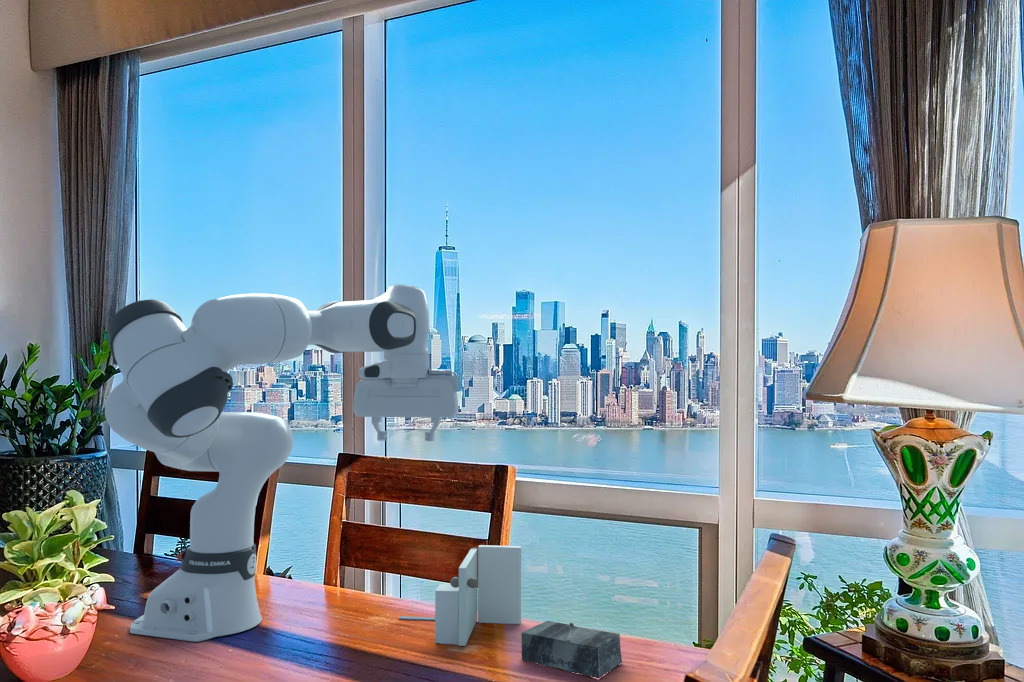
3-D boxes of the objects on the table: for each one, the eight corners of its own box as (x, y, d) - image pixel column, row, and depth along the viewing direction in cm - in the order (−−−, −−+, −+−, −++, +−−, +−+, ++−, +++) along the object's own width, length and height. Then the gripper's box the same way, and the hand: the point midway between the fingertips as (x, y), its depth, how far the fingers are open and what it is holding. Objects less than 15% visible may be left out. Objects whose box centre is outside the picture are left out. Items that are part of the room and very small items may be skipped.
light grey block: (458, 644, 132) (458, 591, 133) (435, 643, 133) (435, 590, 133) (462, 636, 136) (462, 584, 137) (439, 635, 137) (440, 584, 137)
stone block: (550, 645, 133) (550, 614, 133) (625, 664, 124) (625, 631, 125) (520, 661, 125) (520, 628, 126) (598, 682, 117) (598, 647, 117)
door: (476, 646, 130) (476, 568, 130) (447, 645, 130) (448, 567, 131) (487, 617, 145) (487, 547, 145) (461, 617, 145) (462, 547, 145)
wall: (398, 619, 145) (399, 544, 145) (400, 617, 146) (400, 542, 147) (520, 624, 143) (520, 547, 143) (521, 621, 144) (521, 546, 144)
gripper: (461, 369, 152) (461, 439, 152) (360, 369, 154) (360, 438, 154) (456, 369, 146) (455, 443, 145) (350, 369, 148) (350, 441, 148)
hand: (405, 440), depth 150 cm, fingers open, 8 cm apart
